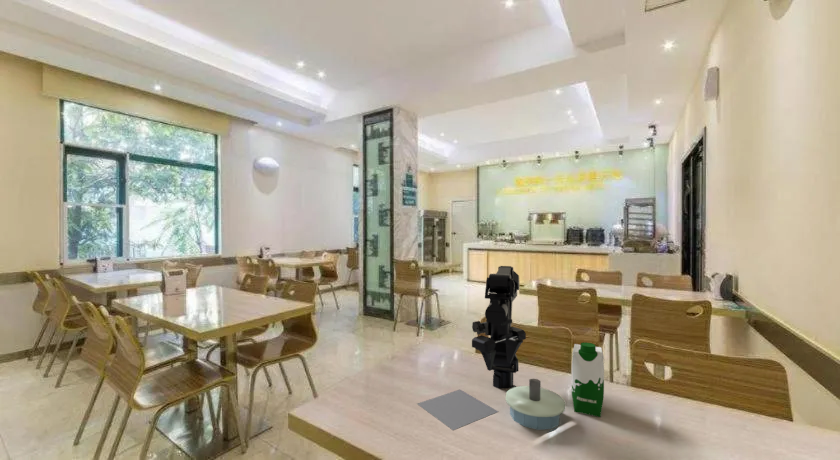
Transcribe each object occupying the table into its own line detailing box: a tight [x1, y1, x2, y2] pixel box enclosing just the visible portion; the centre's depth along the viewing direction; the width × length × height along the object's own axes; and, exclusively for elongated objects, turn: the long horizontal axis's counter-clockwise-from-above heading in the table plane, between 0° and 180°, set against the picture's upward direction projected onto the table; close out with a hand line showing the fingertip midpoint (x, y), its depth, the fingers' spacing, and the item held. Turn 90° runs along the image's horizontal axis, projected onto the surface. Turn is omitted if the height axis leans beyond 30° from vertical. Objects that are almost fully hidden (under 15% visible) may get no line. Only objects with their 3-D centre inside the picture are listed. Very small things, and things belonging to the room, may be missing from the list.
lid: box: [505, 378, 566, 417], centre depth 103 cm, size 16×16×6 cm
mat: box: [416, 389, 499, 431], centre depth 107 cm, size 17×17×1 cm
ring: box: [509, 406, 561, 433], centre depth 103 cm, size 13×13×5 cm
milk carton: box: [571, 341, 605, 418], centre depth 109 cm, size 9×9×20 cm
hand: (499, 366), depth 111 cm, fingers open, 9 cm apart
